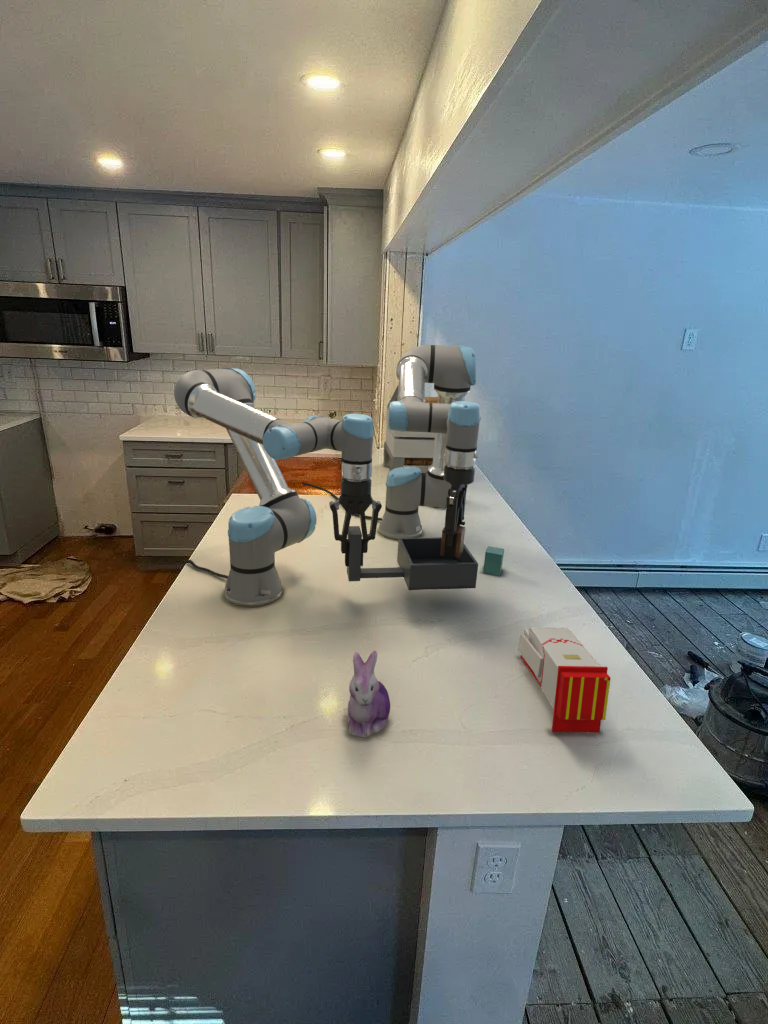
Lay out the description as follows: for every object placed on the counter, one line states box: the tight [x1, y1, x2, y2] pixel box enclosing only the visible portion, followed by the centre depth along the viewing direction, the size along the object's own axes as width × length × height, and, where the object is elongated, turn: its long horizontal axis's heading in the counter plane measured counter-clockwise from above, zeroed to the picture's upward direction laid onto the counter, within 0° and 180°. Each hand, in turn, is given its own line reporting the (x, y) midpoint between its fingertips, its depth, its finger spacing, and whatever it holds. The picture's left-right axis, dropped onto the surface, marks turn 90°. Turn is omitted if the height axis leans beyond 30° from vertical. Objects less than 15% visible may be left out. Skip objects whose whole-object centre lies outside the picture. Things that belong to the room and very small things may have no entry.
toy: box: [517, 626, 611, 734], centre depth 119 cm, size 12×13×30 cm
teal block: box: [482, 545, 505, 577], centre depth 173 cm, size 5×5×7 cm
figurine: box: [346, 650, 391, 738], centre depth 106 cm, size 9×10×15 cm
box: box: [346, 525, 479, 591], centre depth 150 cm, size 32×18×13 cm, turn 99°
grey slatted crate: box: [383, 384, 438, 472], centre depth 268 cm, size 34×33×41 cm
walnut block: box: [440, 525, 466, 558], centre depth 146 cm, size 5×5×7 cm
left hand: (353, 563), depth 148 cm, fingers closed on box, 3 cm apart
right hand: (451, 552), depth 147 cm, fingers closed on walnut block, 5 cm apart
